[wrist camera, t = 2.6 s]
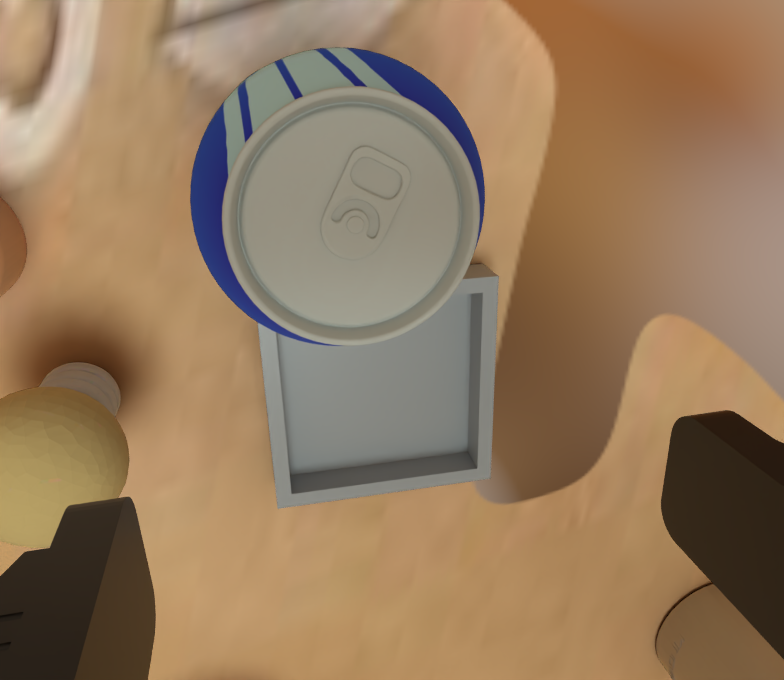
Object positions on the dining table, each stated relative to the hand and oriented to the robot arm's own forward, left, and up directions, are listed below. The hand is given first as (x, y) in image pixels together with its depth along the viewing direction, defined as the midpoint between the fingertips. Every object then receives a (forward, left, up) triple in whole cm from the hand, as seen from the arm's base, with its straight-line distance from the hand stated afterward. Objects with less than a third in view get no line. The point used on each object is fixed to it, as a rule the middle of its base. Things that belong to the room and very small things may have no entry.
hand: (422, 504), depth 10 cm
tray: (-3, +10, -24) cm, 27 cm away
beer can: (0, -2, -25) cm, 25 cm away
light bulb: (+12, +9, -25) cm, 29 cm away
